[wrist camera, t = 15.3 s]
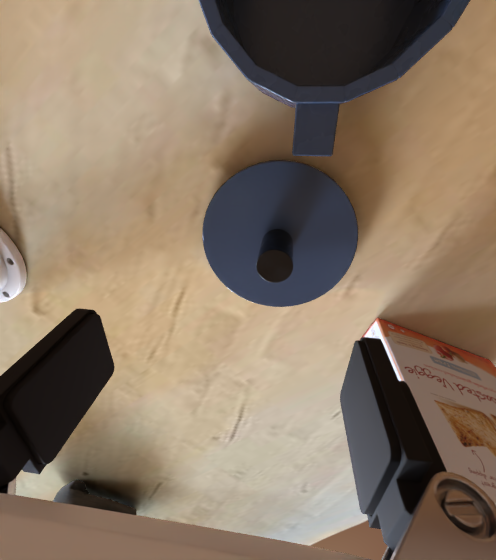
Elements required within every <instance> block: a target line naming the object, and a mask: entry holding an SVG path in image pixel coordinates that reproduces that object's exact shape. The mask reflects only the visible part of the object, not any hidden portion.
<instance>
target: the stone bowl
mask: <svg viewBox="0 0 496 560" xmlns="http://www.w3.org/2000/svg"><path fill="white" fill-rule="evenodd" d="M53 502H59V503H65V504H71V505H78V506H84V507H90V508H96V509H102V510H107V511H113V512H119V513H125V514H131V515H136V509H134V508H132V507H130V506H127V505H124V504H121V503H119V502H117V501H113V500H111V499H106V498H102V497H97V496H95V495H90V494H89V492H88V490H86V486H85V483H84V482H82V481H80V480H74V481H72V482H70V483H69V484H67V485H65V486H64V487H62V488H61V489H60V491H59V492H58V493H57V495H56V496H55V498H54V500H53Z"/></svg>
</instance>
